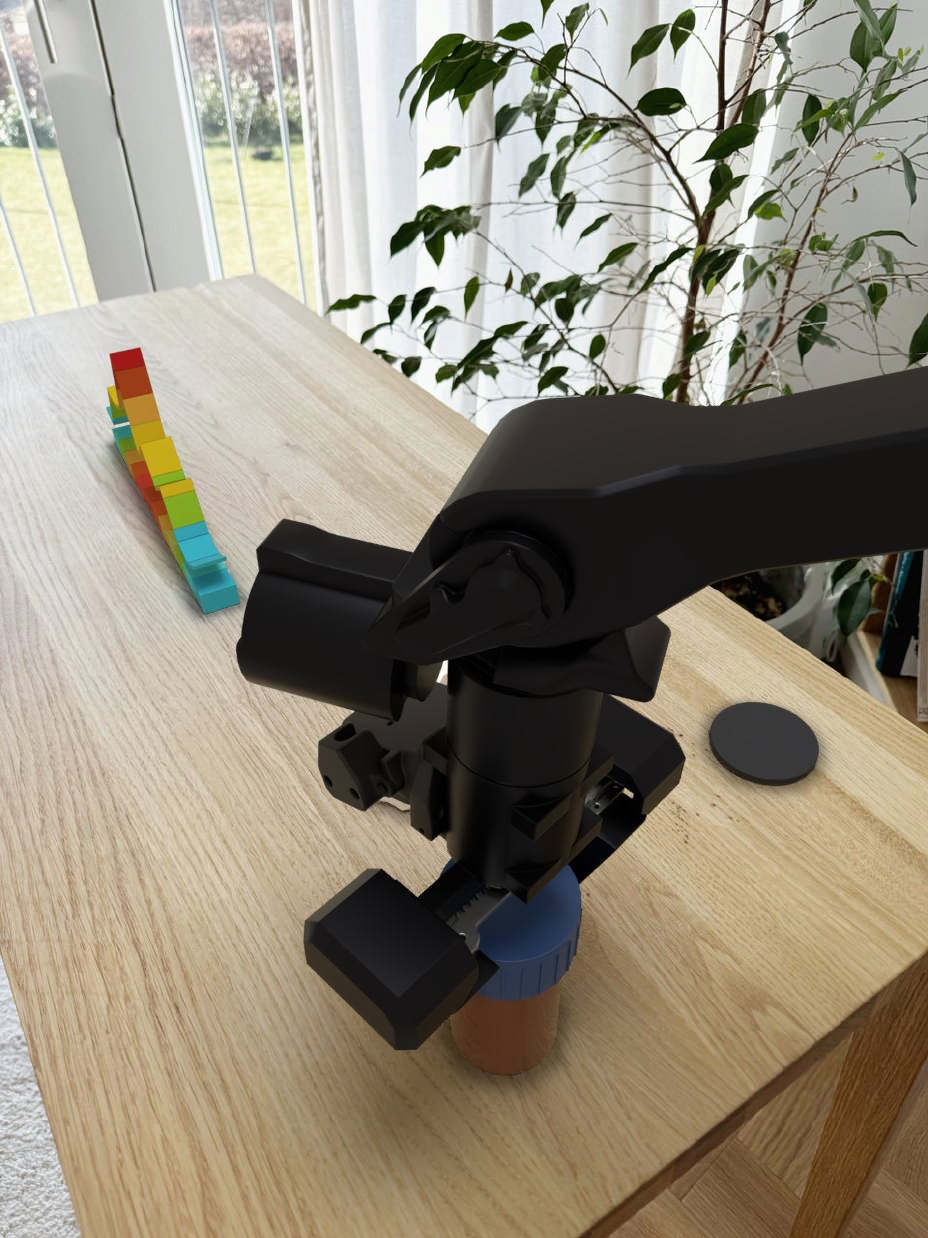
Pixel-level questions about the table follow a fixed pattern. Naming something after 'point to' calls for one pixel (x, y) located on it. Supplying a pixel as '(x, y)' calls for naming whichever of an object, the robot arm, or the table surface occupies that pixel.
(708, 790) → the table surface
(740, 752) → the coaster
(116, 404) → the chart
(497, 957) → the lid
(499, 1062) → the jar
